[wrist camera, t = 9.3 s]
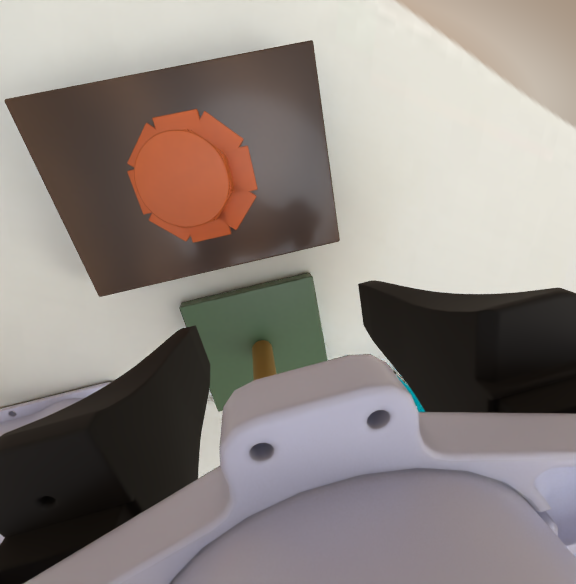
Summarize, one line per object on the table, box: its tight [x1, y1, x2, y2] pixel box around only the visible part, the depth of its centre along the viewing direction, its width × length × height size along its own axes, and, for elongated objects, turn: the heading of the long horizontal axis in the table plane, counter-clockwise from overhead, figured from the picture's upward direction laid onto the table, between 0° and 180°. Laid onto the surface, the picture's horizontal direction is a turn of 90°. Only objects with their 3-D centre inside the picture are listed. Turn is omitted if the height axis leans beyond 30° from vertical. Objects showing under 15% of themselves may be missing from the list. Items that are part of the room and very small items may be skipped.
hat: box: [127, 109, 258, 243], centre depth 15 cm, size 7×7×4 cm
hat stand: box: [180, 273, 327, 411], centre depth 22 cm, size 10×10×6 cm
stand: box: [5, 40, 340, 297], centre depth 18 cm, size 16×11×2 cm
